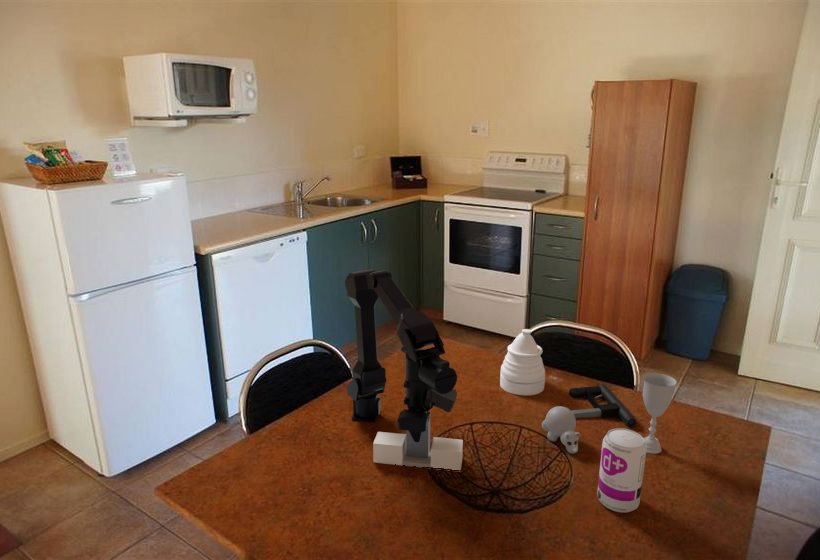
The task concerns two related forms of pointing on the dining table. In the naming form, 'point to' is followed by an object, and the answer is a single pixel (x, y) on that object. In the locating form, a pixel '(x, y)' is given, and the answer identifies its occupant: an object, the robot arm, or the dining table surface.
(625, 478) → the supplement can
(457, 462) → the white block dumbbell
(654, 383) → the chalice
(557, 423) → the round bodied animal figurine
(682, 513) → the dining table surface
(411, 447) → the grey brushed metal block
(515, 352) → the honey pot
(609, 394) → the toy submachine gun
